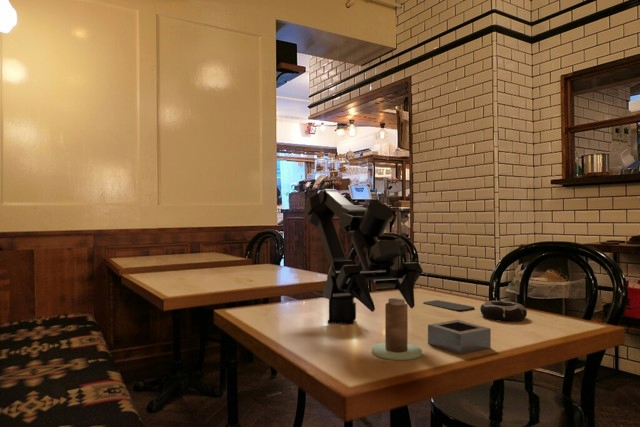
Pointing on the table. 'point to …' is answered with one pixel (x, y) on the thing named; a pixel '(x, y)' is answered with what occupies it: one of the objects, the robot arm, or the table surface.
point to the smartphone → (449, 305)
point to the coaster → (410, 354)
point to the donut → (503, 311)
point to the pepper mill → (396, 325)
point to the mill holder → (459, 336)
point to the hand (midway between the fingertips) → (393, 308)
